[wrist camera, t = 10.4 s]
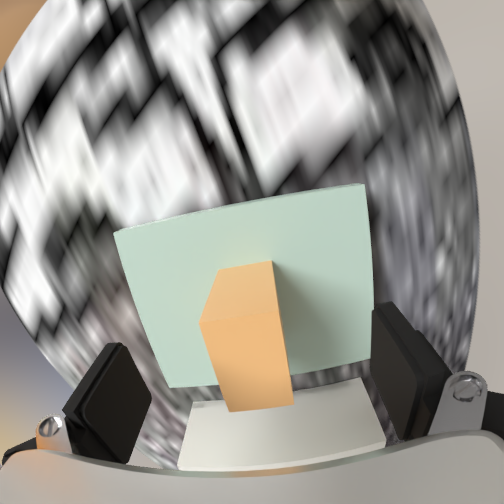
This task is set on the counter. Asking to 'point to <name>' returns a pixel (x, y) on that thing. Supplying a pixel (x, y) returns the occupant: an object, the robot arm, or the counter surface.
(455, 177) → the counter surface
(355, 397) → the tub
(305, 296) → the lid
